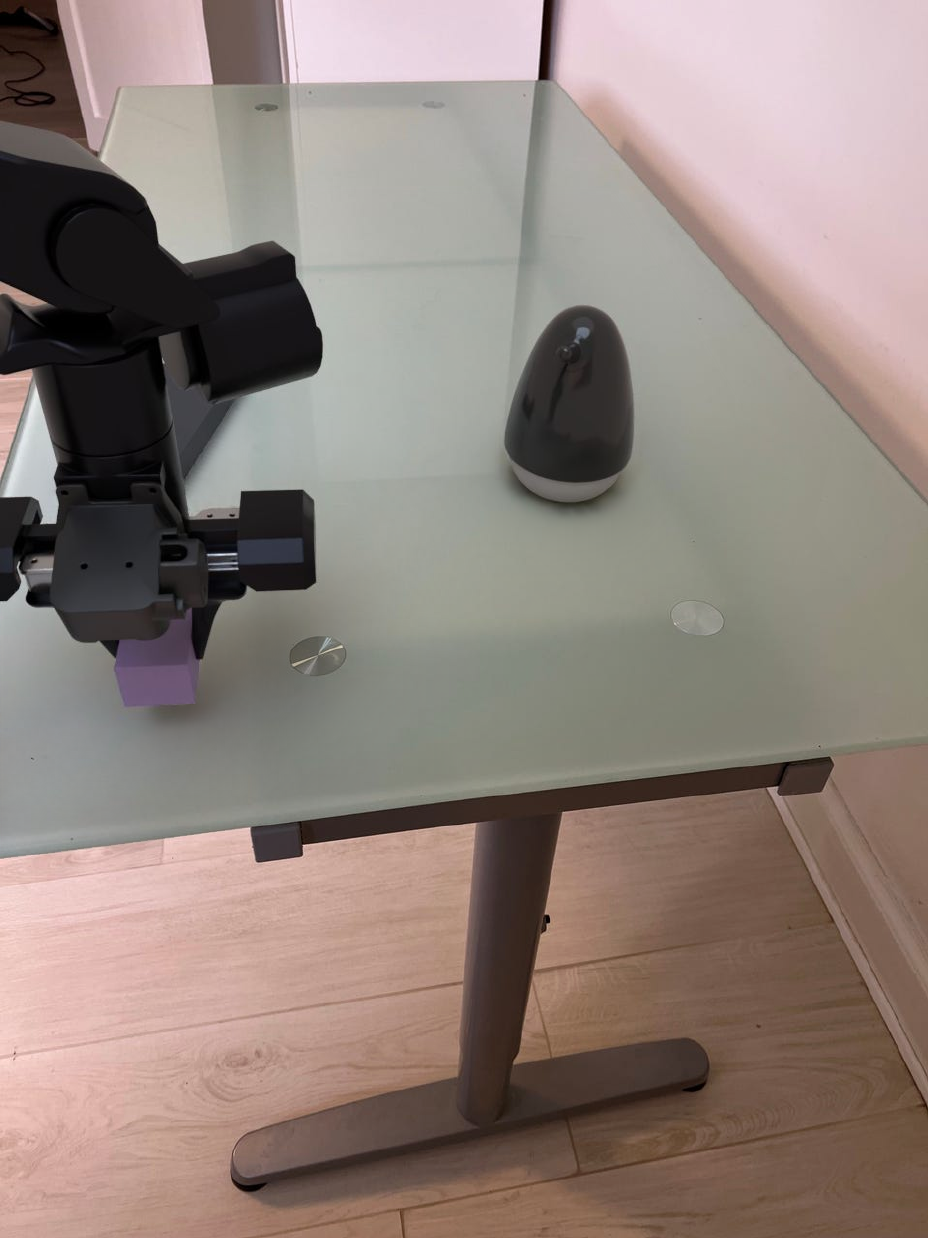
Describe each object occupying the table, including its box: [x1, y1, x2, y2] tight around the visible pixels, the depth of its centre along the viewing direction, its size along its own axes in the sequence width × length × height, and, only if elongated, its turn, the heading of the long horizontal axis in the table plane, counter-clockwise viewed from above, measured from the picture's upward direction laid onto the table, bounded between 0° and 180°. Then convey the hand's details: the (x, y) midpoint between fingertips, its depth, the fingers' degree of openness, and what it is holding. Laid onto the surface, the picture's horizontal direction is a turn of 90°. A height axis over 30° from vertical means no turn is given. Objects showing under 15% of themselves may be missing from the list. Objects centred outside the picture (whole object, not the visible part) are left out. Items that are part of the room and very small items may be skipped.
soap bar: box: [113, 608, 201, 708], centre depth 58 cm, size 6×4×3 cm, turn 7°
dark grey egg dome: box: [503, 304, 635, 503], centre depth 76 cm, size 10×10×15 cm
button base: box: [163, 362, 235, 480], centre depth 82 cm, size 18×8×4 cm, turn 172°
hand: (162, 656), depth 58 cm, fingers closed on soap bar, 4 cm apart
